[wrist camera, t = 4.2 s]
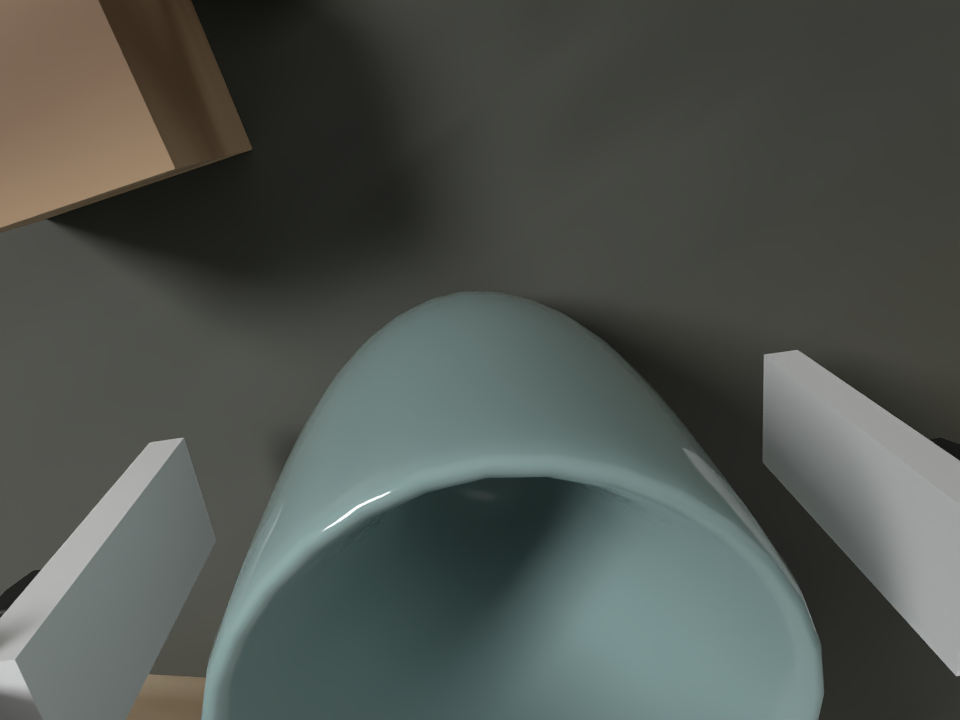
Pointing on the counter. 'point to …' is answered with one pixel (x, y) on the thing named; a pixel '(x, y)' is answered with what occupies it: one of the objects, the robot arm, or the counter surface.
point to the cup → (507, 546)
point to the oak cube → (169, 698)
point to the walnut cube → (105, 102)
